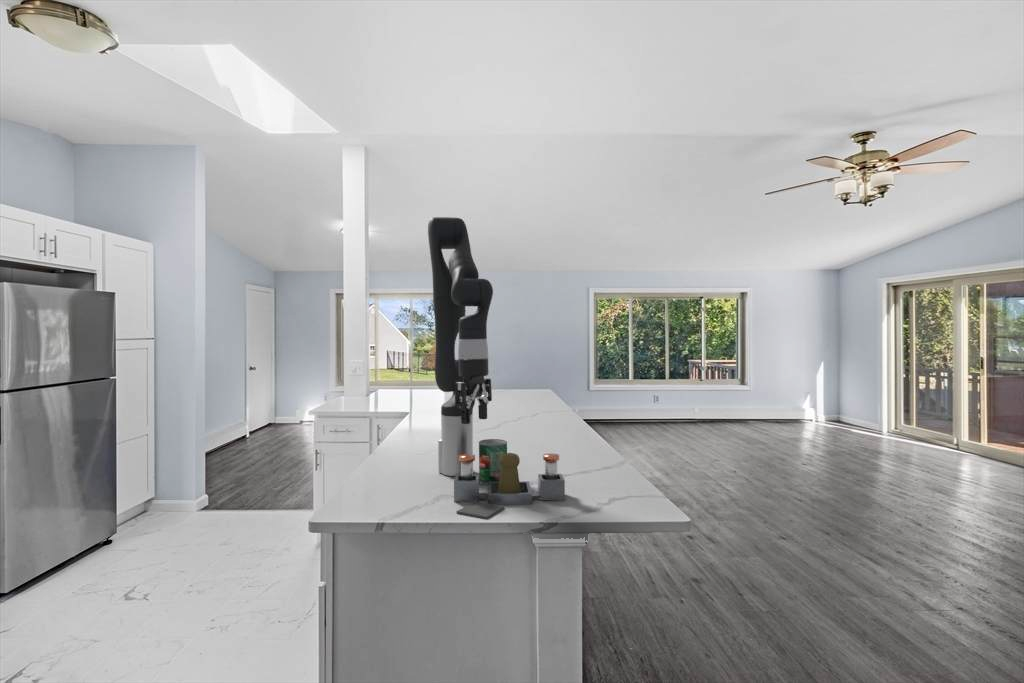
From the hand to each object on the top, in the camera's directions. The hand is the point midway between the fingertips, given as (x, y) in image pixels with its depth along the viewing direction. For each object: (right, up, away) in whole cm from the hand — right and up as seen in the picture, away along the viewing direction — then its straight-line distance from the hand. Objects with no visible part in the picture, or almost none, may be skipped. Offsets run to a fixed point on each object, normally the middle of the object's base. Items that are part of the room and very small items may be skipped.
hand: (474, 421), depth 136 cm
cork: (+9, -19, -2) cm, 21 cm away
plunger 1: (-2, -15, -2) cm, 15 cm away
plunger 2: (+19, -15, -2) cm, 25 cm away
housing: (+9, -19, -2) cm, 21 cm away
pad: (+2, -19, -12) cm, 22 cm away
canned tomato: (+4, -19, +13) cm, 23 cm away
